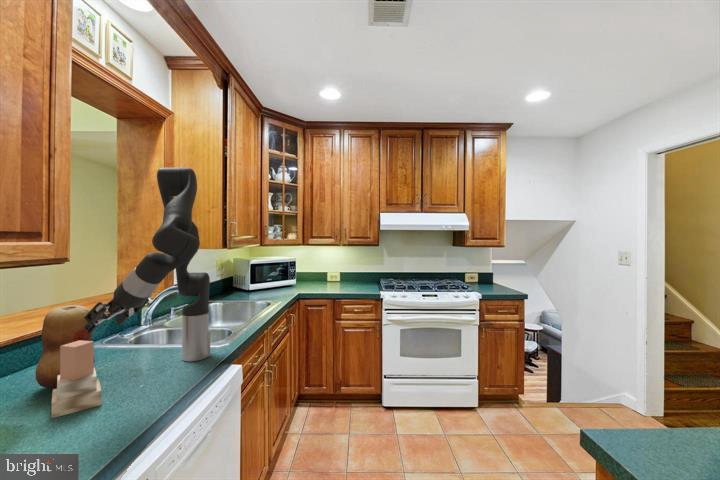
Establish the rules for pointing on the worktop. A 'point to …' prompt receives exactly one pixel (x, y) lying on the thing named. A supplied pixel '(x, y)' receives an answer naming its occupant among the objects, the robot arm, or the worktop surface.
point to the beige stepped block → (75, 395)
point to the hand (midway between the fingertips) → (103, 326)
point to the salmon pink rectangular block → (76, 360)
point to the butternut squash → (59, 340)
